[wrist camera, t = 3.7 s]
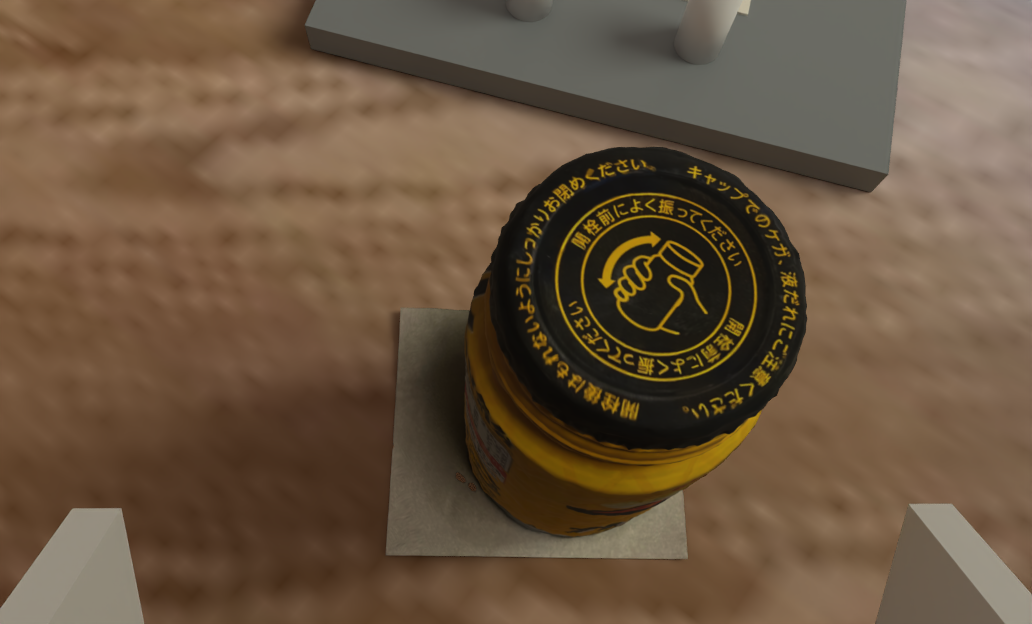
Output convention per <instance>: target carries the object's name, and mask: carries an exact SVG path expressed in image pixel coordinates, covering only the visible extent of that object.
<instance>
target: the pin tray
mask: <svg viewBox="0 0 1032 624" xmlns="http://www.w3.org/2000/svg"><path fill="white" fill-rule="evenodd" d="M905 9H906V0H316V1H315V3H314V6H313V8H312V10H311V12H310V14H309V17H308V19H307V21H306V23H305V28H306V32H307V36H308V40H309V43H310V47H311V49H314V50H318V51H322V52H325V53H329V54H333V55H337V56H341V57H345V58H349V59H353V60H357V61H361V62H365V63H368V64H372V65H376V66H380V67H384V68H388V69H392V70H396V71H400V72H404V73H407V74H411V75H415V76H419V77H423V78H427V79H431V80H435V81H439V82H443V83H446V84H450V85H454V86H458V87H462V88H466V89H470V90H474V91H478V92H482V93H485V94H489V95H493V96H497V97H501V98H505V99H509V100H513V101H517V102H521V103H524V104H528V105H532V106H536V107H540V108H544V109H548V110H552V111H556V112H560V113H564V114H567V115H571V116H575V117H579V118H583V119H587V120H591V121H595V122H599V123H603V124H606V125H610V126H614V127H618V128H622V129H626V130H630V131H634V132H638V133H642V134H645V135H649V136H653V137H657V138H661V139H665V140H669V141H673V142H677V143H681V144H684V145H688V146H692V147H696V148H700V149H704V150H708V151H712V152H716V153H720V154H723V155H727V156H731V157H735V158H739V159H743V160H747V161H751V162H755V163H759V164H763V165H766V166H770V167H774V168H778V169H782V170H786V171H790V172H794V173H798V174H802V175H805V176H809V177H813V178H817V179H821V180H825V181H829V182H833V183H837V184H841V185H844V186H848V187H852V188H856V189H860V190H864V191H868V192H872V191H873V190H874V189H875V188H876V187H877V186H878V184H879V183H880V182H881V181H882V180H883V179H884V178H885V177H886V176H887V175H888V172H889V162H890V153H891V143H892V133H893V124H894V114H895V105H896V95H897V85H898V76H899V66H900V57H901V47H902V37H903V28H904V18H905Z"/></svg>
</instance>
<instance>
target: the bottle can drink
mask: <svg viewBox="0 0 1032 624" xmlns="http://www.w3.org/2000/svg"><path fill="white" fill-rule="evenodd" d="M805 287H806V286H805V278H804V272H803V269H802V266H801V262H800V257H799V253H798V252H797V250H796V249H795V247H794V246H793V245H792V244H791V242H790V240H789V237H788V235H787V232H786V230H785V228H784V226H783V225H782V223H781V222H780V220H779V219H778V218H777V216H776V215H775V214H774V212H773V211H772V210H771V209H770V208H768V207H767V206H766V205H765V204H764V203H763V202H762V201H761V200H760V198H759V197H758V196H757V195H756V194H755V193H754V192H752V191H751V190H749V189H748V188H747V187H746V186H745V185H744V184H743V182H742V181H741V180H740V179H739V178H738V177H736V176H735V175H733V174H731V173H729V172H727V171H724V170H722V169H720V168H718V167H716V166H714V165H712V164H710V163H707V162H705V161H702V160H699V159H697V158H694V157H692V156H690V155H687V154H685V153H683V152H679V151H675V150H670V149H667V148H664V147H646V148H637V147H616V148H610V149H605V150H602V151H598V152H594V153H590V154H585V155H583V156H581V157H579V158H577V159H575V160H573V161H570V162H568V163H566V164H564V165H562V166H561V167H560V168H558V169H557V170H556V171H554V172H553V173H552V174H551V175H550V176H549V177H548V178H546V179H545V180H544V181H543V182H542V183H541V184H539V185H537V186H535V187H534V188H533V189H532V190H531V191H530V192H529V193H528V195H527V197H526V199H525V200H523V201H521V202H519V203H517V204H516V206H515V208H514V210H513V211H512V212H511V214H510V217H509V221H508V222H507V224H506V225H505V226H503V227H502V229H501V234H500V236H499V239H498V245H497V247H496V249H495V250H494V252H493V254H492V256H491V263H490V265H489V266H488V267H487V269H486V271H485V272H484V273H483V274H482V277H481V280H480V282H479V284H478V286H477V287H476V289H475V291H474V296H473V299H472V302H471V308H470V311H469V310H449V309H436V308H401V313H400V335H399V351H398V368H397V385H396V406H395V418H394V433H393V444H394V448H393V451H392V464H391V479H390V498H389V513H388V526H387V543H386V555H420V556H499V557H552V558H638V559H688V554H687V538H686V526H685V512H684V497H683V490H684V489H685V488H687V487H688V486H690V485H691V484H693V483H694V482H696V481H697V480H699V479H700V478H702V477H704V476H706V475H707V474H708V473H709V472H711V471H712V470H714V469H715V468H716V467H718V466H719V465H720V464H721V463H722V462H724V460H725V459H726V458H727V457H728V456H729V455H730V454H731V453H732V452H733V451H734V450H735V449H737V448H738V446H739V445H740V444H741V443H742V441H743V440H744V439H745V437H746V436H747V435H748V434H749V432H750V431H751V430H752V428H753V427H754V426H755V424H756V422H757V420H758V418H759V416H760V414H761V411H762V409H763V408H764V407H765V406H766V404H767V403H768V401H770V400H771V399H772V398H773V397H775V396H777V394H778V391H779V388H780V387H781V386H782V384H783V383H784V381H785V380H786V379H787V378H788V376H789V374H790V373H791V372H792V370H793V368H794V366H795V364H796V361H797V355H798V352H799V350H800V347H801V344H802V340H803V337H804V335H805V333H806V322H807V316H806V308H807V304H806V297H805ZM457 472H458V473H460V474H461V475H463V476H464V477H465V479H466V482H464V483H462V482H460V481H459V480H458V479H456V473H457ZM469 483H474V485H475V486H476V492H475V491H471V489H470V488H469V487H468V484H469Z"/></svg>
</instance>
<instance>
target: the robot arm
mask: <svg viewBox="0 0 1032 624" xmlns="http://www.w3.org/2000/svg"><path fill="white" fill-rule="evenodd" d="M0 624H144V619H143V614H142V609H141V604H140V599H139V594H138V589H137V584H136V579H135V574H134V569H133V564H132V559H131V554H130V549H129V544H128V539H127V534H126V529H125V524H124V519H123V513H122V508H72V510H71V511H70V513H69V514H68V515H67V517H66V518H65V519H64V521H63V522H62V524H61V525H60V526H59V528H58V529H57V531H56V532H55V533H54V535H53V536H52V538H51V539H50V540H49V542H48V543H47V544H46V546H45V547H44V549H43V550H42V551H41V553H40V554H39V556H38V557H37V558H36V560H35V561H34V563H33V564H32V565H31V567H30V568H29V569H28V571H27V572H26V574H25V575H24V576H23V578H22V579H21V581H20V582H19V583H18V585H17V586H16V588H15V589H14V590H13V592H12V593H11V594H10V596H9V597H8V599H7V600H6V601H5V603H4V604H3V606H2V607H1V608H0ZM875 624H1032V594H1031V593H1030V592H1029V591H1028V589H1027V588H1026V587H1025V586H1024V585H1023V584H1022V583H1021V582H1020V580H1019V579H1018V578H1017V577H1016V576H1015V575H1014V574H1013V573H1012V571H1011V570H1010V569H1009V568H1008V567H1007V566H1006V565H1005V563H1004V562H1003V561H1002V560H1001V559H1000V558H999V557H998V556H997V554H996V553H995V552H994V551H993V550H992V549H991V548H990V546H989V545H988V544H987V543H986V542H985V541H984V540H983V539H982V537H981V536H980V535H979V534H978V533H977V532H976V531H975V530H974V528H973V527H972V526H971V525H970V524H969V523H968V522H967V520H966V519H965V518H964V517H963V516H962V515H961V514H960V513H959V511H958V510H957V509H956V508H955V507H954V506H953V505H952V504H908V508H907V512H906V515H905V519H904V522H903V526H902V529H901V533H900V537H899V540H898V544H897V547H896V551H895V555H894V558H893V562H892V565H891V569H890V572H889V576H888V580H887V583H886V587H885V590H884V594H883V598H882V601H881V605H880V608H879V612H878V615H877V619H876V623H875Z"/></svg>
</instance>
